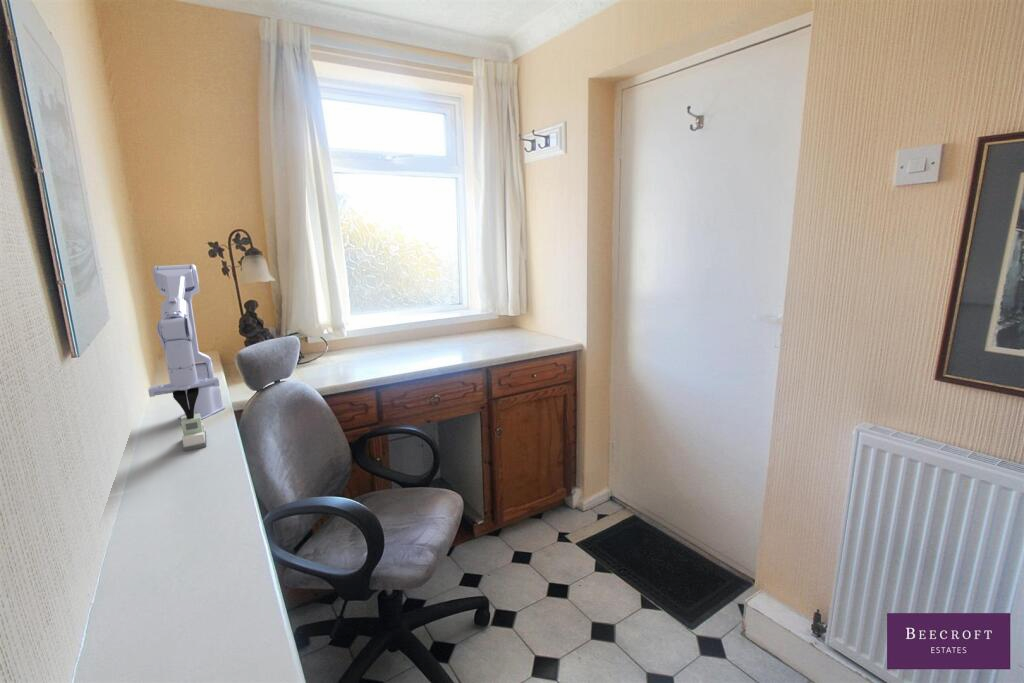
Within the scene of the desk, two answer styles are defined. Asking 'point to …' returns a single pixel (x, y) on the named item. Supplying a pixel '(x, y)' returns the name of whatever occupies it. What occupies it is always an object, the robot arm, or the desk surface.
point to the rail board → (194, 440)
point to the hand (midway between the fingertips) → (190, 417)
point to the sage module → (191, 425)
